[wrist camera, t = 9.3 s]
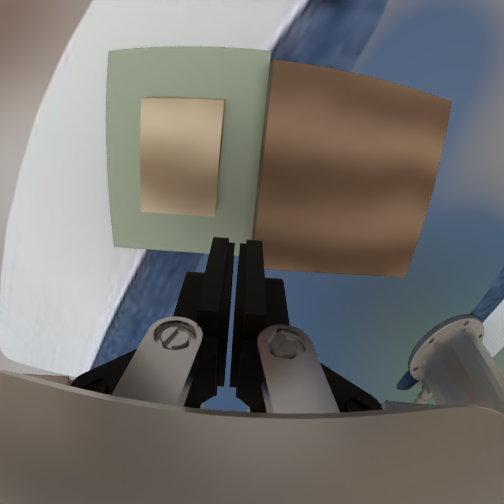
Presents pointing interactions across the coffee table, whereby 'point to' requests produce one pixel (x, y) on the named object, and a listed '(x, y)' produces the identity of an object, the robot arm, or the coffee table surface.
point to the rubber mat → (233, 141)
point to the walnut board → (345, 170)
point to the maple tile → (180, 154)
